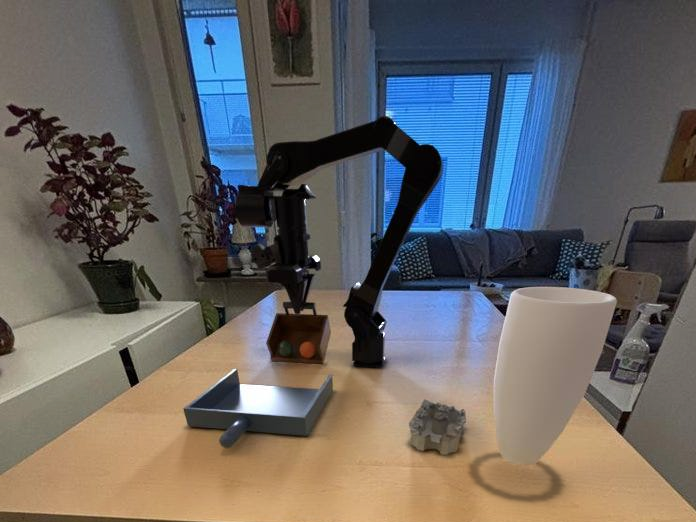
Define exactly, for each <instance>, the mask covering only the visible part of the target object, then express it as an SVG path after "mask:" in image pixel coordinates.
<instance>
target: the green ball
mask: <svg viewBox="0 0 696 522" xmlns="http://www.w3.org/2000/svg"><path fill="white" fill-rule="evenodd" d="M293 350H294V348H293V345H292V344H291V343H290V342H288V341H282V342H281V343H280V344H279V346H278V351H279V353H280V354H281V355H282V356H284V357H289V356H291V355H292V353H293Z"/></svg>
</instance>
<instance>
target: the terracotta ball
mask: <svg viewBox="0 0 696 522" xmlns="http://www.w3.org/2000/svg"><path fill="white" fill-rule="evenodd" d="M300 353H301V355H302V356H303V357H305V358H311V357H313V356H314V354H315V347H314V345H313V344H312V343H310V342H304V343H303V344H302V345H301V347H300Z"/></svg>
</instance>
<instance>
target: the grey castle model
mask: <svg viewBox="0 0 696 522" xmlns="http://www.w3.org/2000/svg"><path fill="white" fill-rule="evenodd" d="M466 414H467V413H466V410H465V409H464V408H462V409H461V410H458V409H456V408H455V406H454V405H450V406H448V405H447V404H441V403H440V402H436V403H434V402H431V401H430V400H428V399H423V401H422V402H421V404H420V405H419V408H418V409H417V410H416V411H415V413H414V415H413V416H412V418H411V420H409V422H408V426H409V430H410V434H411V436H410V445H411V446H413V447H415V448H416V450H418V451H420V452H424V451H425V450H430V449H431V450H437V451H438V452H439V453H440V454H441V455H445V456H447V455H448V454H450V453H456V452H458V447H459V445H460V439H461V436H462V432H463V428H464V426H465V425H466V424H467V415H466Z"/></svg>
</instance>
